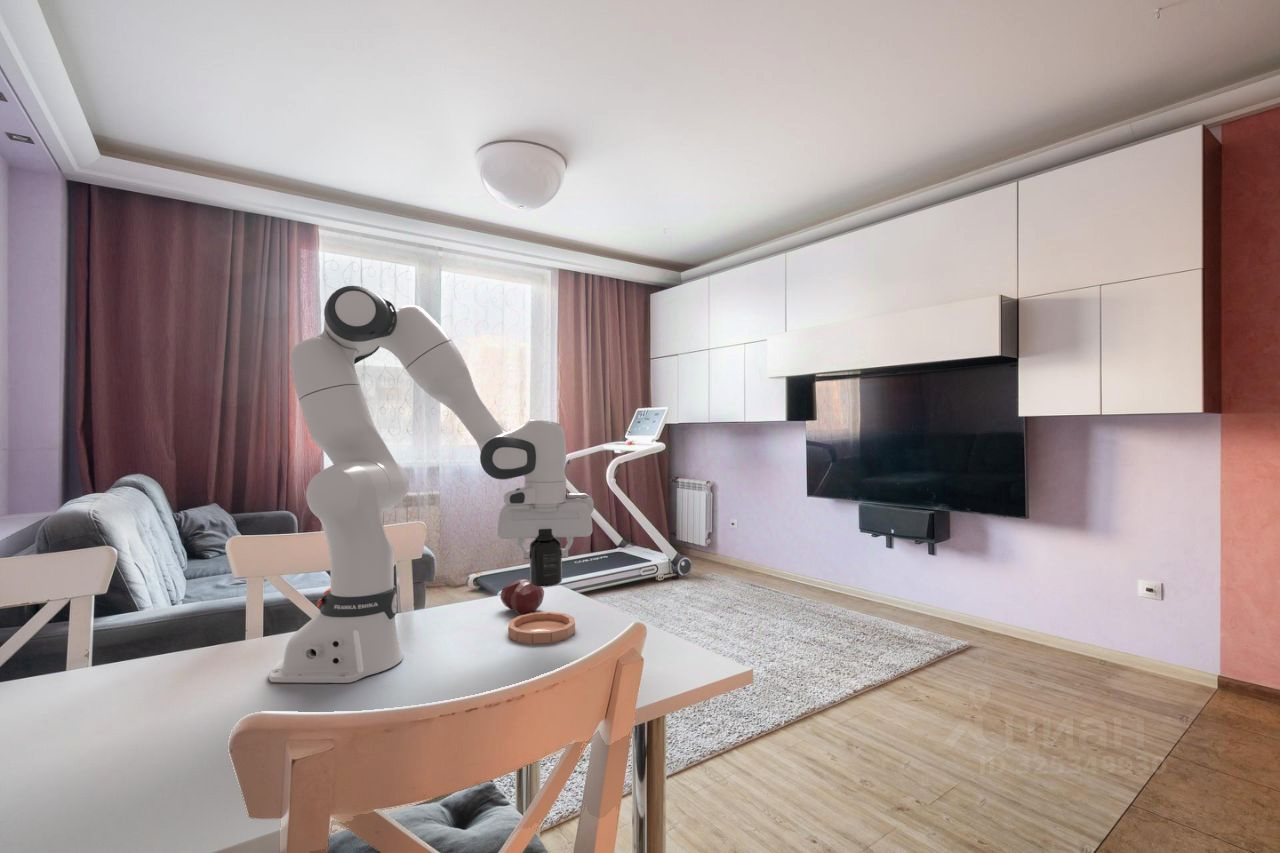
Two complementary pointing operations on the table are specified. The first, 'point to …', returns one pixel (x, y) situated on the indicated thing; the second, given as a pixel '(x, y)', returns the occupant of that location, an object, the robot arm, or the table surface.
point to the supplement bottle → (545, 559)
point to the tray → (541, 627)
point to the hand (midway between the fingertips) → (545, 558)
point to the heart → (522, 596)
